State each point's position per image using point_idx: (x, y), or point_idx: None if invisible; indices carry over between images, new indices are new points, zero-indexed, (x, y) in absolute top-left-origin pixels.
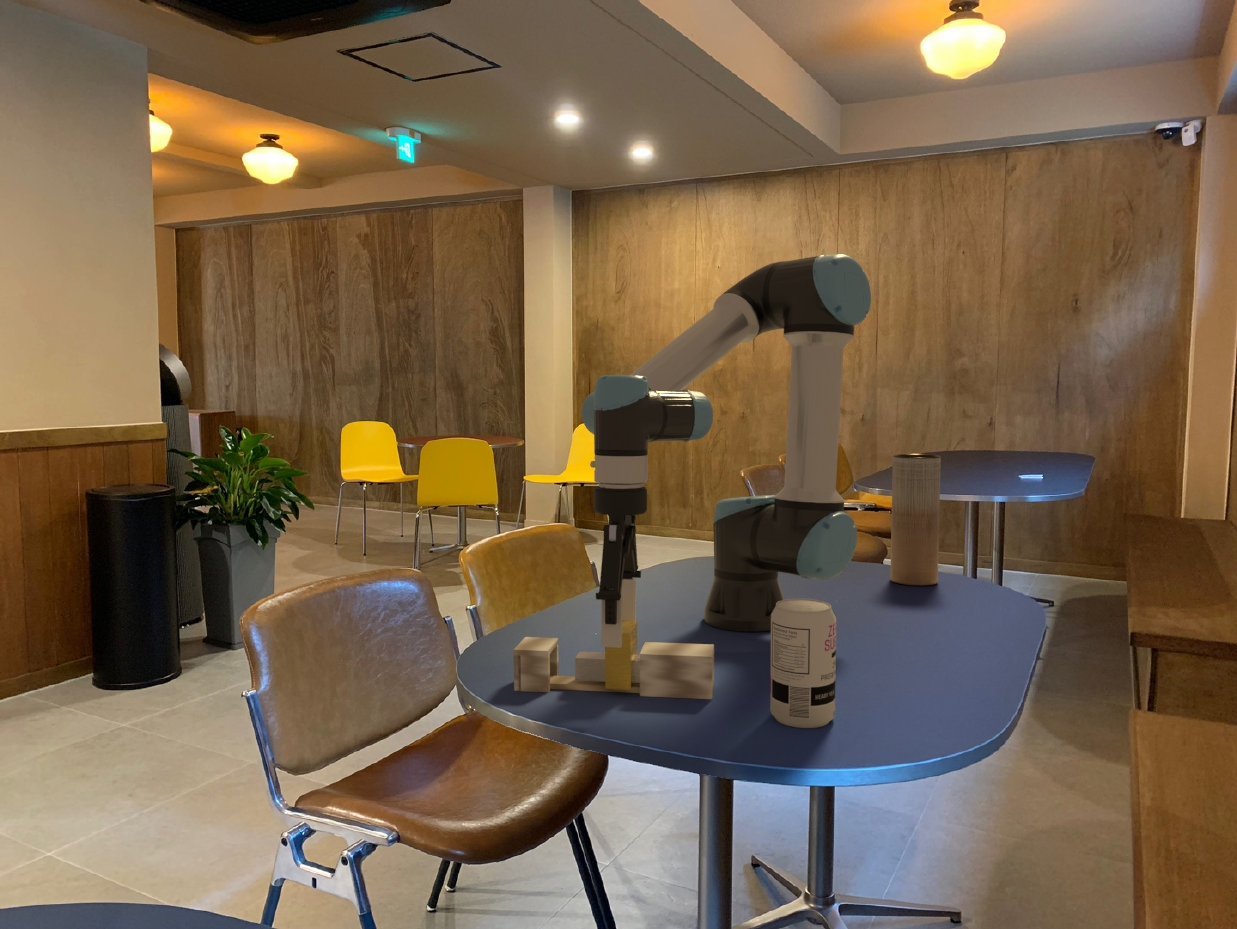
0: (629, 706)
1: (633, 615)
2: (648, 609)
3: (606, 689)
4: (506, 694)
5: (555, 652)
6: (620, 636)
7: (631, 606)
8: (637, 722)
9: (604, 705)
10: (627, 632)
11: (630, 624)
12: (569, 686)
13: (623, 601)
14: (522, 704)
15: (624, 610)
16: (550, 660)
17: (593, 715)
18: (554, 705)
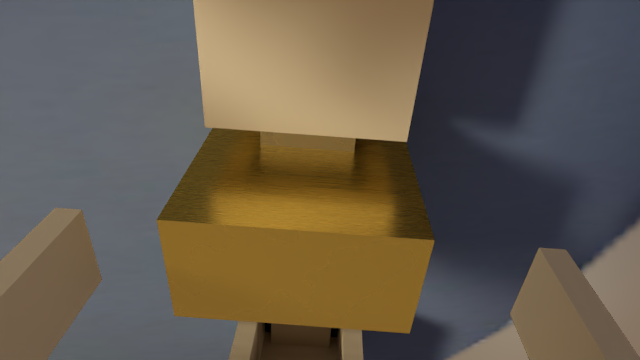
0: (480, 103)
1: (61, 242)
2: None
3: None
4: (372, 356)
5: (251, 351)
6: (592, 293)
7: (30, 288)
8: (631, 70)
9: (463, 171)
10: (414, 254)
11: (246, 246)
12: None
13: (27, 346)
14: (437, 327)
15: (58, 298)
16: (256, 340)
17: (539, 191)
18: (450, 275)
